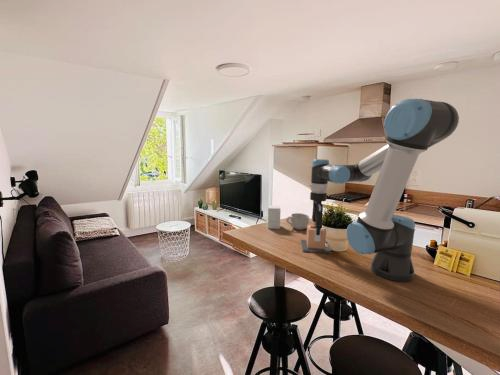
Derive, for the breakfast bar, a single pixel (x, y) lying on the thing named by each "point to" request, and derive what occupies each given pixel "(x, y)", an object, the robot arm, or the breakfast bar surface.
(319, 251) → the board
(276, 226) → the supplement box
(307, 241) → the pink square pen holder
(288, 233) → the breakfast bar surface
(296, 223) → the teacup
